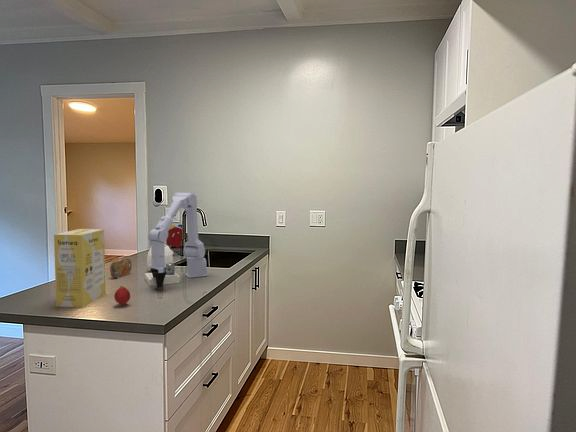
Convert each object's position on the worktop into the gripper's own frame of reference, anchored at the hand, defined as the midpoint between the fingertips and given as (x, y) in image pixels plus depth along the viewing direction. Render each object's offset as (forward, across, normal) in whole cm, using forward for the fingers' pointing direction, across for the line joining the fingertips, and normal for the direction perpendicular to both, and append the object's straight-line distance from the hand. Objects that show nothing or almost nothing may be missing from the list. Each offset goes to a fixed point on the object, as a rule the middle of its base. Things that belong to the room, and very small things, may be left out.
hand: (158, 285), depth 188 cm
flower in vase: (+2, -78, +17) cm, 80 cm away
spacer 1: (+2, 0, 0) cm, 2 cm away
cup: (+2, -36, +7) cm, 37 cm away
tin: (+2, -32, -13) cm, 35 cm away
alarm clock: (+2, -108, +31) cm, 112 cm away
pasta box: (+2, +6, -31) cm, 32 cm away
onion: (+2, +20, -17) cm, 26 cm away
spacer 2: (-2, -11, +8) cm, 13 cm away
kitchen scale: (+1, -13, +4) cm, 14 cm away
